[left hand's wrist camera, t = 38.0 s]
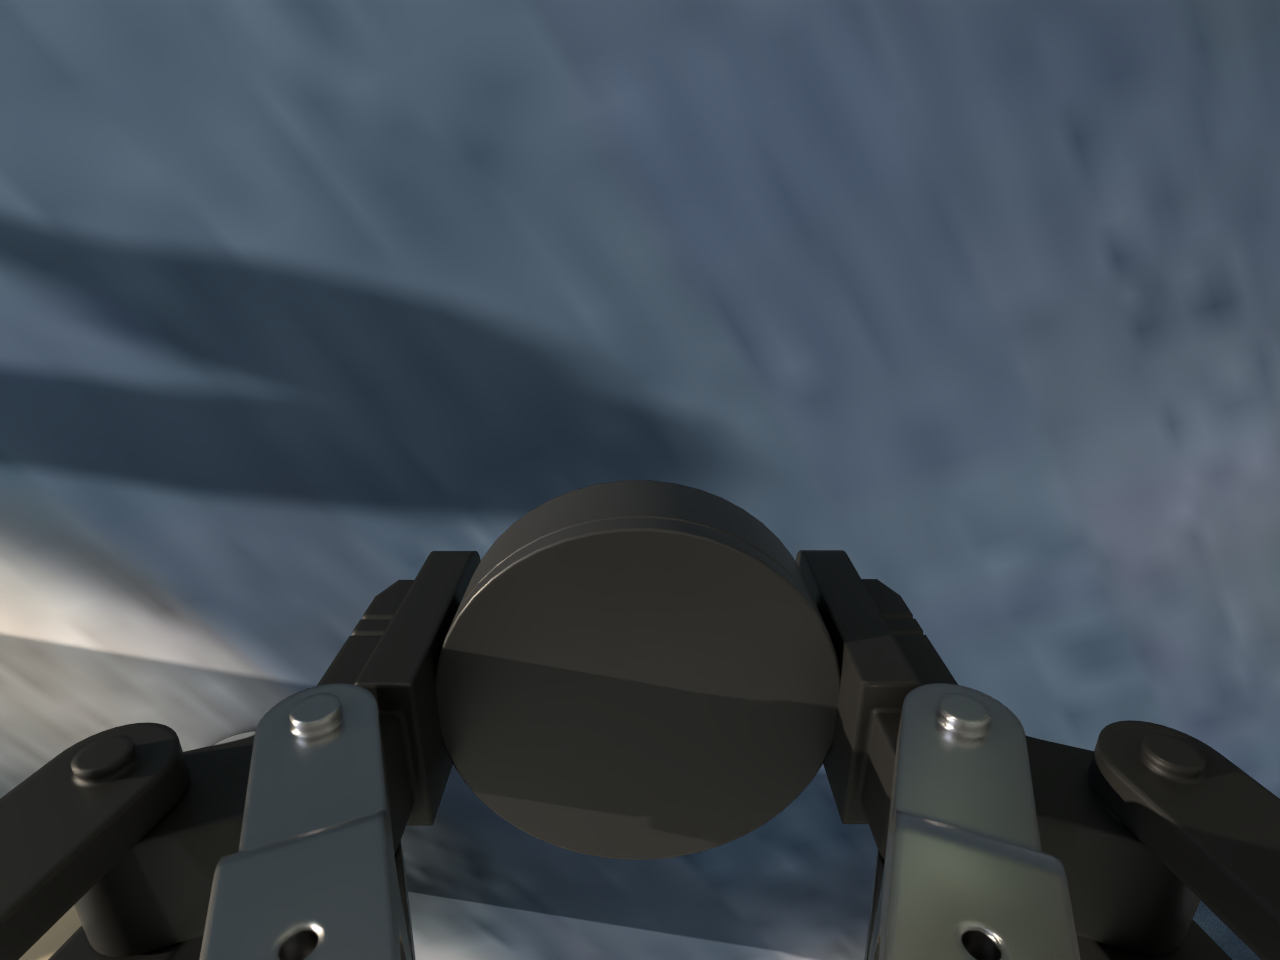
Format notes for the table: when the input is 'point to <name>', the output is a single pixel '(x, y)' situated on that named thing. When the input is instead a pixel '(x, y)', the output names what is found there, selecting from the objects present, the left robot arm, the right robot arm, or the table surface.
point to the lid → (637, 673)
